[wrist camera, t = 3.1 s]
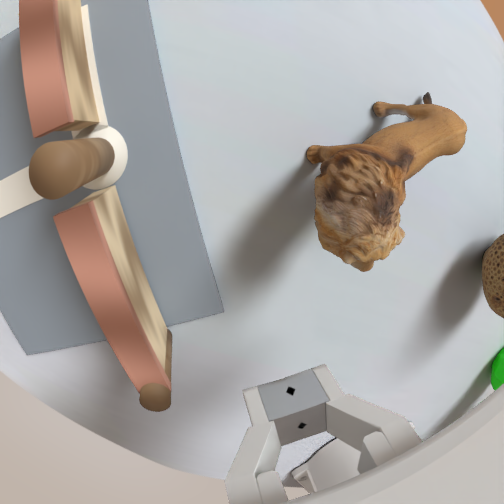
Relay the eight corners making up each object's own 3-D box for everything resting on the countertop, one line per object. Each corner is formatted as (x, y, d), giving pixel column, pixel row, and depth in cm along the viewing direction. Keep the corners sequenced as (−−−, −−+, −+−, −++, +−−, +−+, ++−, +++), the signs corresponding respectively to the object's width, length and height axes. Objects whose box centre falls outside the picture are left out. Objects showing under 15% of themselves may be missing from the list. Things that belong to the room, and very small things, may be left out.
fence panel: (90, 191, 17) (46, 221, 11) (117, 182, 17) (82, 207, 11) (152, 348, 21) (146, 413, 16) (176, 342, 22) (176, 408, 16)
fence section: (120, 168, 17) (83, 189, 11) (87, 180, 17) (38, 207, 11) (87, -24, 11) (52, -72, 5) (55, -10, 11) (12, -50, 5)
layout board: (223, 308, 22) (224, 312, 22) (28, 352, 20) (26, 355, 20) (144, -23, 12) (143, -26, 12) (-59, 87, 11) (-63, 87, 10)
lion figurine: (309, 241, 21) (376, 308, 13) (260, 185, 19) (313, 227, 11) (438, 119, 20) (527, 131, 11) (405, 63, 18) (497, 50, 9)
